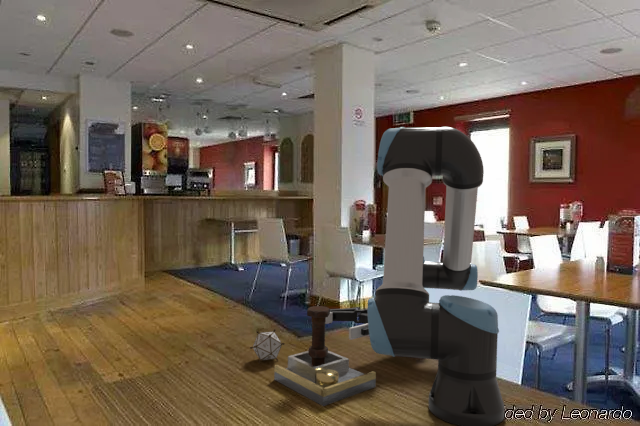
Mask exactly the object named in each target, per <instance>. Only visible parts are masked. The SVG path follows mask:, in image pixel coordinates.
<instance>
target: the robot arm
mask: <svg viewBox="0 0 640 426" xmlns="http://www.w3.org/2000/svg"><path fill="white" fill-rule="evenodd" d="M376 162H377V173H378V175H379V176H382V181H383V182H384V184H385V185H386V186H387V188H388V194H387V195H388V196H387V210H386V211H387V212H386V226H385V227H386V228H385V230H386V232H385V245H384V247H385V248H384V261H383V276H382V277H383V279H382V284H381V285H379V287H377V288H376V289H375V294H374V295H375V297H371V298H369V299H368V300H367V308H363V309H361V307H359V306H357V307H352V308H351V307H348V308H347V307H346V308H329V309H330V315H329V316H328V317H326V322H325V325H328V324H332V323H333V322H353V323H355V324H360V325H355V326H352V327H348V339H349V340H350V341H352V340H355V339H359V338H363V337H366V336H368V337H369V341H370V346H371V348H372V351H374V352H375V353H376V354H378V355H386V356H391V357H394V358H395V357H404V358H405V357H406V358H416V359H424V360H425V359H427V360H437V373H436V375H435V378H434V380H433V382H432V387H431V388H430V391H429V394H428V408H429V409H428V410H429V411H430V412H431V414H432V415H434V416H435V417H437V418H438V419H440V420H442V421H444V422H447V423H450V424H451V425H456V426H497V425H499V424H501V423H502V422H503V421H504V419H505V403H504V400H503V396H502V393H501V390H500V387H499V386H500V385H499V383H498V380H497V370H498V369H497V368H498V367H497V365H498V364H497V363H498V362H497V360H498V338H499V337H498V334H499V333H500V330H499V319H498V318H499V315H498V312H497V311H496V309H495V308H494V307H493V306H492V305H490V304H488V303H487V302H484V301H483V300H478V299H475V298H471V297H467V296H461V295H455V294H454V295H453V294H452V295H449V294H448V295H442V296H440V299H439V300H438V302H430V293H429V292H428V291H427V290H426V289H435V290H437V289H438V290H439V289H440V290H442V289H443V290H451V291H475V290H476V289H477V286H478V275H479V272H478V271H479V270H478V266H477V264H475V263H472V256H473V247H474V235H475V223H476V212H477V211H476V210H477V202H478V201H477V199H478V190H479V187H481V186H482V185H483V182H484V164H483V160H482V157H481V154H480V151H479V150H478V148H477V146H476V144H475V143H474V142H473V140H472V139H471V138H470V137H469V136H468V135H466V134H465V133H464V132H462V131H461V130H459V129H457V128H454V127H450V126H441V127H440V126H439V127H436V126H435V127H405V126H400V127H395V128H391V127H390V128H388V129H386V130H385V131H384V132H383V134H382V136H381V139H380V142H379V148H378V155H377V161H376ZM436 176H437V177H438V176H439V177H440V176H442V183H443V184H444V185H445V186H446V187H445V188H446V192H445V214H444V232H443V233H444V234H443V251H442V252H443V254H442V255H443V256H442V262H437V261H427V260H426V259H425V256H424V248H425V247H424V246H425V245H424V244H425V243H424V241H425V215H426V214H425V213H426V212H425V211H426V209H425V208H426V188H428V187H429V186H430V185H431V184H432V182H433V177H436Z"/></svg>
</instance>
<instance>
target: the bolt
mask: <svg viewBox="0 0 640 426" xmlns="http://www.w3.org/2000/svg"><path fill="white" fill-rule="evenodd" d="M330 309H331V308H329V307H327V306H321V305H320V306H319V305H313V306H310V307H308V308H307V311H306V316H307V317H311V345H310V346H309V348H308V349H307V351H308V355H309V356H311V357H312V365H314V366H320V365H323V364H325V357H326V356H327V354H328V351H329V348H328V347H327V346H326V345H325V343H326V324H325V322H326V317H328V316H329V315H330Z"/></svg>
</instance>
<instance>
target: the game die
mask: <svg viewBox="0 0 640 426" xmlns="http://www.w3.org/2000/svg"><path fill="white" fill-rule="evenodd" d="M255 331H256V337H255V340H254V342H253V345H252V346H250V347H249V349H251V350H253V351H254V353H255V355H256V356H257V357H258V359H259V360H258V364H261V362H262V361H269V360H276V361H277V362H279V359H278V356H279V353H280V351H281V348H282V346H283V345H284V346H285V344H286V343H285V342H282V341H281V339H280V338H279V336H278V335H277V334H276V328H274V329H273V331H263V332H259V330H255Z"/></svg>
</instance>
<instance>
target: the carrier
mask: <svg viewBox="0 0 640 426" xmlns="http://www.w3.org/2000/svg"><path fill="white" fill-rule="evenodd" d="M349 361H350V359H349V358H348V357H346V356H342V355H340V354H337V353H336V352H333V351H331V350H328V354H327V356H326V357H325V364H323V365H320V366H314V365H312V357H311V356H309V355H308V350H306V351H302V352H299V353H295V354H291V355H288V356H287V367H286V368H285V367H283V366H282V365H279V364H275V365H274V370H273V371H274V373H273V374H274V375H273V377H274V378H273V379H274V381H276V382H278V383H280V384H281V385H283V386H285V387H287V388H289V389H291V390H293V392H294V391H295V392H296V393H297V394H300V395H302V396H304V397H306V398H307V399H309V400H311V401H312V402H315V403H317V404H318V405H320V406H322V407H325V406H328V405H330V404H333V403H336V402H339V401H341V400H344V399H348V398H350V397H352V396H355V395H358V394H361V393H363V392H367V391H368V390H369V391H370V390H371V389H374V388H376V383H377V381H376V380H377V379H376V378H377V372H376V371H370V372H367V373H363V372H361V371H358V370H357V369H354V368H351V367H350V362H349Z"/></svg>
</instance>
